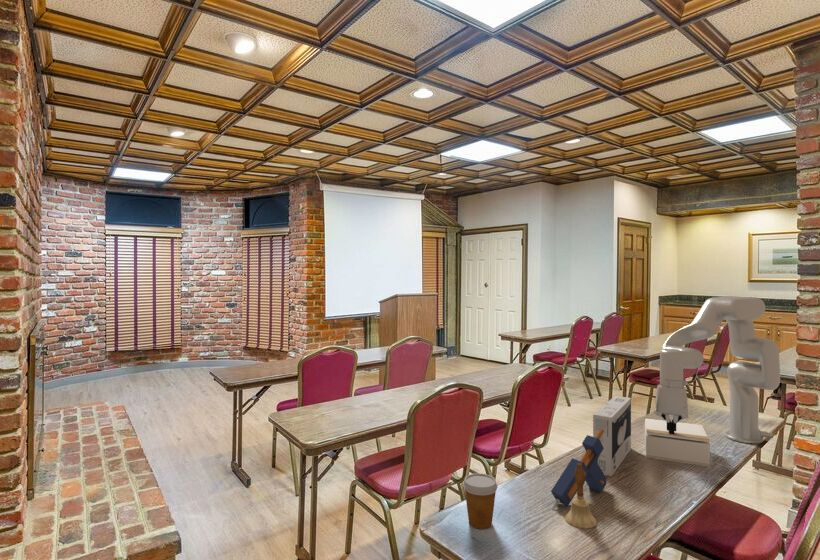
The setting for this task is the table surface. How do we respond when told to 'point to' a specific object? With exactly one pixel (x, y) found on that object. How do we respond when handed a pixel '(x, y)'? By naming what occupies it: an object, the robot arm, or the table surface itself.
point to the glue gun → (593, 473)
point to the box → (677, 449)
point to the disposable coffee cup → (480, 499)
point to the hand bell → (580, 505)
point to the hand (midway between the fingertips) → (671, 432)
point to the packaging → (613, 432)
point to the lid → (681, 432)
